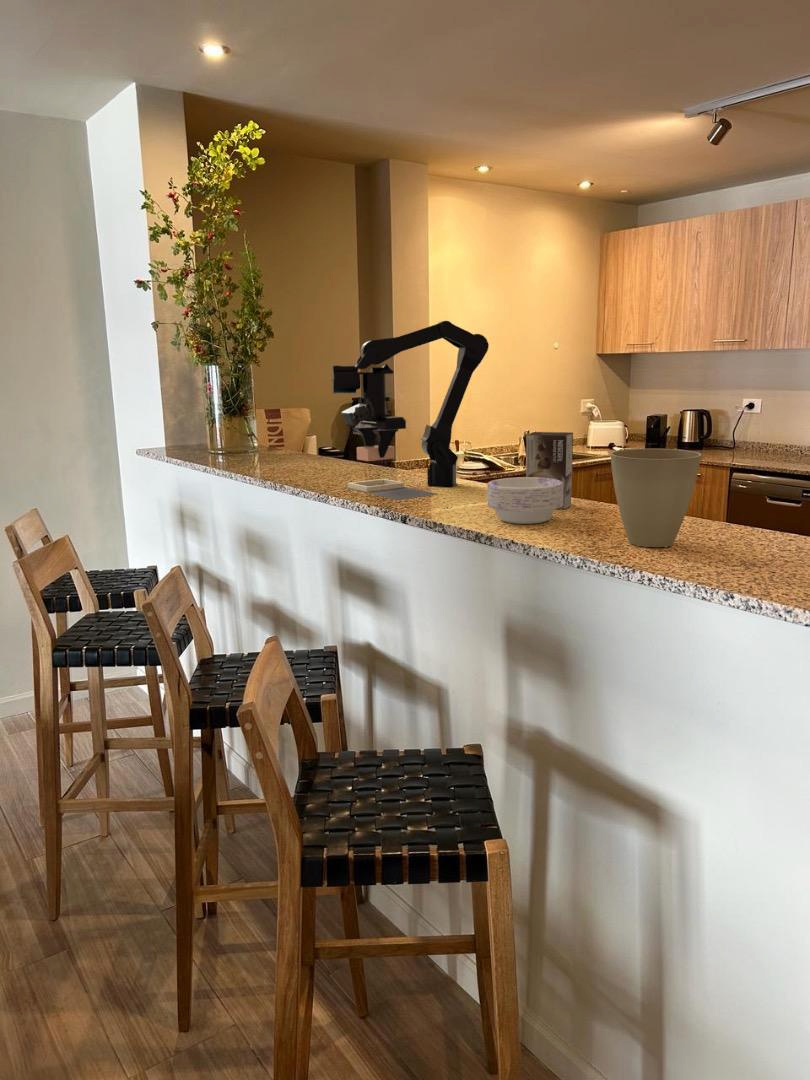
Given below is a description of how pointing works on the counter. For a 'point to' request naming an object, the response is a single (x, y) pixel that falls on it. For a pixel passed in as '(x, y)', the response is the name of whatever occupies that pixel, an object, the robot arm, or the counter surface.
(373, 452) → the pink rectangular block
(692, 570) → the counter surface
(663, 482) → the plant pot
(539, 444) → the coffee box
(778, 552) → the counter surface
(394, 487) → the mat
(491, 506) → the paper bowls
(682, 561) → the counter surface
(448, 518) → the counter surface
